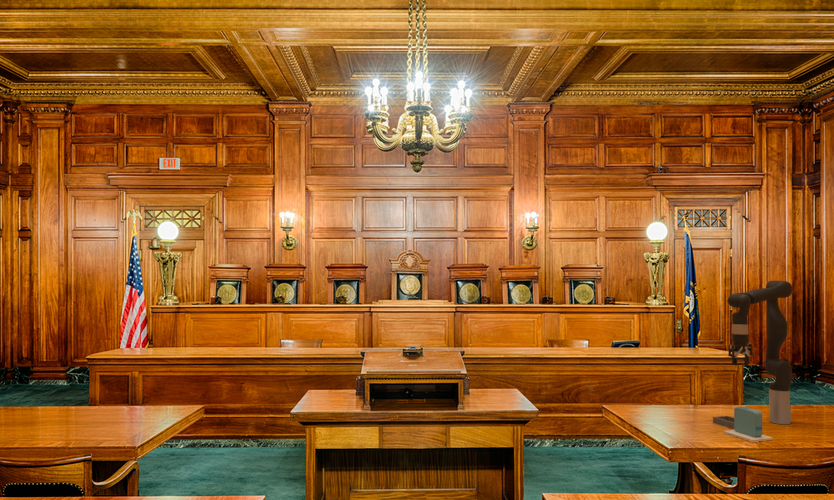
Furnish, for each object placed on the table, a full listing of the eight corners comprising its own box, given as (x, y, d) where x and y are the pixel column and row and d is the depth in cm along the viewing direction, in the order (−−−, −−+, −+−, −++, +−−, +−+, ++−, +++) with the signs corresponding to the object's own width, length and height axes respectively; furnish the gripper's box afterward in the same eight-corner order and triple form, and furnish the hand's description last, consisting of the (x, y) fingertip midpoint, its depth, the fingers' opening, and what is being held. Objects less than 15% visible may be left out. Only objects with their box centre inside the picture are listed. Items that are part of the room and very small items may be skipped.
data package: (762, 437, 268) (762, 411, 268) (755, 437, 266) (755, 412, 267) (741, 430, 279) (741, 405, 280) (734, 431, 278) (733, 406, 278)
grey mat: (743, 431, 282) (743, 429, 282) (773, 440, 267) (773, 437, 267) (723, 433, 278) (723, 430, 278) (752, 442, 263) (752, 439, 263)
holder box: (727, 421, 302) (727, 415, 302) (756, 429, 286) (756, 423, 286) (713, 422, 298) (713, 417, 299) (741, 431, 282) (741, 425, 283)
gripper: (743, 331, 299) (744, 362, 298) (723, 332, 293) (724, 364, 293) (756, 333, 292) (757, 364, 291) (736, 334, 286) (737, 366, 286)
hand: (740, 364), depth 292 cm, fingers open, 8 cm apart
